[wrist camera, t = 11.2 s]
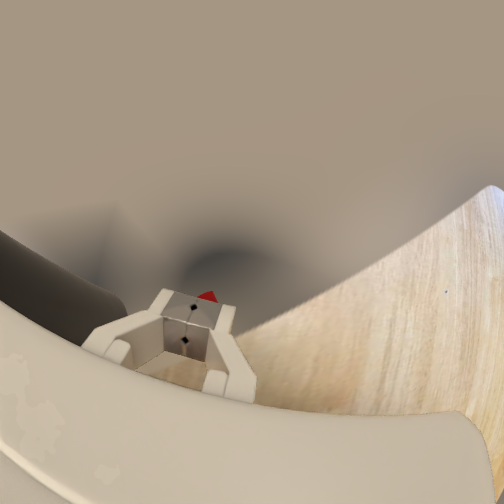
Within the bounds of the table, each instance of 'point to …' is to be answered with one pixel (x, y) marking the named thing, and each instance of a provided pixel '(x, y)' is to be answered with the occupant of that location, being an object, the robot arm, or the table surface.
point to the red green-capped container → (208, 296)
